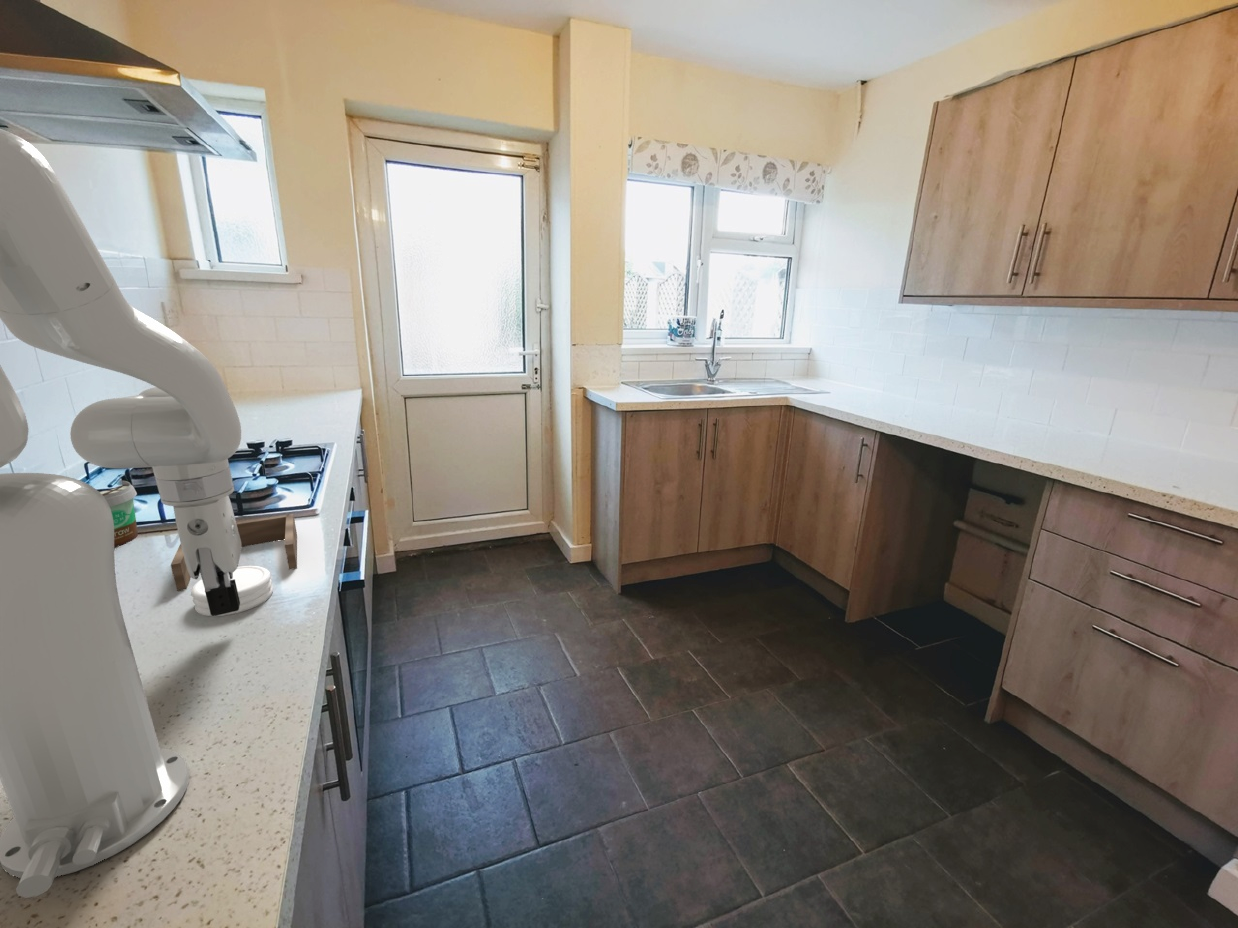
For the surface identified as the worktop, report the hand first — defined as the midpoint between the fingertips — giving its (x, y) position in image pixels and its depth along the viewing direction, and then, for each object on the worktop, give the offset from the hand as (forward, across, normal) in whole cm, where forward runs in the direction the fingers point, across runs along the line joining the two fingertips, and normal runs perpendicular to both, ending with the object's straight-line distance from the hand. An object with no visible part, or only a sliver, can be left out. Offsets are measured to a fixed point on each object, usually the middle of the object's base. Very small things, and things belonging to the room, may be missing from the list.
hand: (226, 610), depth 76 cm
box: (+4, +24, 0) cm, 24 cm away
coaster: (+4, +10, 0) cm, 10 cm away
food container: (+5, +44, +21) cm, 49 cm away
